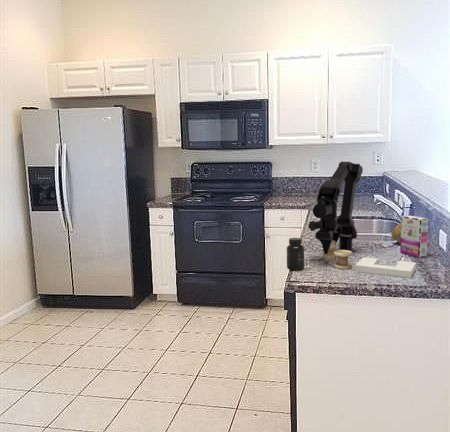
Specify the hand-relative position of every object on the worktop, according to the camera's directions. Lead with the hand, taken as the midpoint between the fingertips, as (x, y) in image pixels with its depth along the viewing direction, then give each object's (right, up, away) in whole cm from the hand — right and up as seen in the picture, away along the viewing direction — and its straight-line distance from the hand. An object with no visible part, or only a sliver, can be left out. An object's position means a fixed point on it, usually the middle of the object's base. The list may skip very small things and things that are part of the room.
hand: (329, 251), depth 200 cm
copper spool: (0, -4, +1) cm, 4 cm away
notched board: (+18, -6, -16) cm, 25 cm away
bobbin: (+3, -5, -10) cm, 12 cm away
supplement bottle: (-16, -6, -11) cm, 20 cm away
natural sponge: (+39, +1, +25) cm, 46 cm away
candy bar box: (+37, -2, +6) cm, 38 cm away
